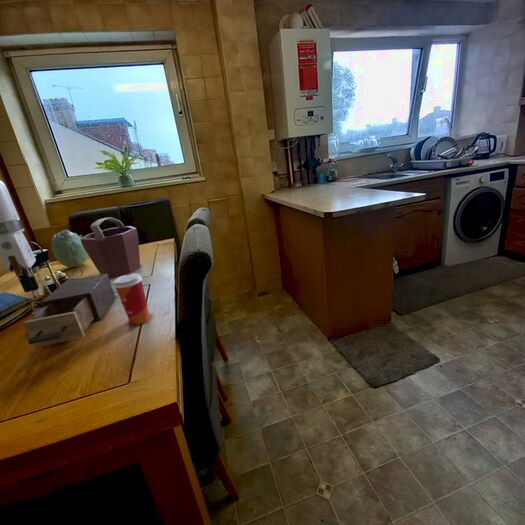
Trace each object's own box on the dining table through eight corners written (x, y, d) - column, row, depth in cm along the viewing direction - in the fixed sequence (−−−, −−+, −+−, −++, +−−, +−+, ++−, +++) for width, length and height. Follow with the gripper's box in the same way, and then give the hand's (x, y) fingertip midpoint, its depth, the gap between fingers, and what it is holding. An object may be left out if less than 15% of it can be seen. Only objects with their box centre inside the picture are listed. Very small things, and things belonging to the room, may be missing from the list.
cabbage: (95, 258, 159) (83, 224, 152) (92, 267, 142) (78, 229, 135) (63, 265, 153) (49, 230, 146) (56, 275, 136) (40, 236, 129)
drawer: (76, 348, 72) (65, 322, 70) (23, 359, 70) (10, 333, 68) (102, 310, 91) (94, 289, 89) (61, 318, 89) (52, 297, 87)
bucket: (122, 280, 118) (104, 223, 110) (80, 281, 124) (59, 227, 115) (154, 260, 141) (141, 211, 132) (117, 262, 146) (102, 214, 137)
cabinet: (100, 319, 88) (90, 292, 84) (53, 329, 85) (41, 301, 82) (115, 297, 103) (107, 273, 100) (76, 304, 101) (66, 280, 98)
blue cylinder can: (33, 327, 88) (28, 316, 87) (42, 318, 94) (37, 308, 92) (52, 323, 89) (47, 312, 88) (60, 314, 94) (56, 304, 93)
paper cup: (127, 317, 87) (114, 276, 82) (153, 310, 89) (141, 270, 84) (125, 330, 80) (110, 286, 75) (153, 322, 82) (140, 279, 77)
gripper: (15, 229, 70) (43, 294, 76) (27, 222, 82) (51, 278, 88) (-24, 236, 66) (9, 303, 73) (-5, 227, 79) (22, 286, 85)
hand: (32, 289), depth 81 cm, fingers closed
